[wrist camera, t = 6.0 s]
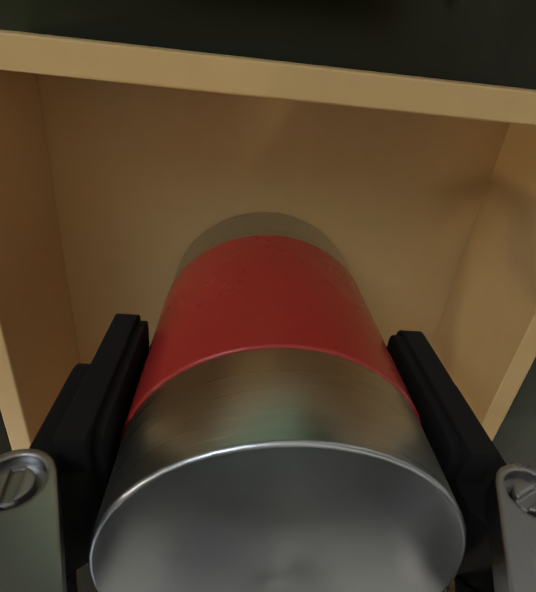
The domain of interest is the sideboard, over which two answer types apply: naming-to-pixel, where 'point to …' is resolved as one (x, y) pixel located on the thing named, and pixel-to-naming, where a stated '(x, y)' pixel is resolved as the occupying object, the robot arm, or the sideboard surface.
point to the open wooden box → (257, 200)
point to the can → (272, 436)
